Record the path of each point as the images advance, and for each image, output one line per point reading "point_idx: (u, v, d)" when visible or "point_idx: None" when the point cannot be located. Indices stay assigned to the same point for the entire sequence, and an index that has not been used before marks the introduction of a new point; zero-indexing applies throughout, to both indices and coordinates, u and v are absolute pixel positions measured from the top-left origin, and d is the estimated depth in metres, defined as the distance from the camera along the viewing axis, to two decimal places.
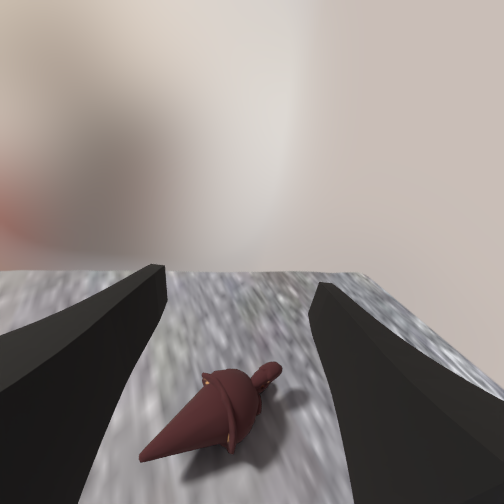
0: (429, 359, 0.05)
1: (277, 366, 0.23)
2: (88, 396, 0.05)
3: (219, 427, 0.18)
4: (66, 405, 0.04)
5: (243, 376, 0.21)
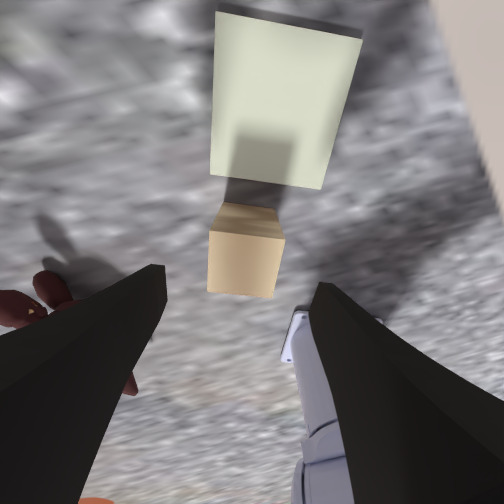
0: (429, 359, 0.05)
1: None
2: (88, 396, 0.05)
3: None
4: (66, 405, 0.04)
5: None
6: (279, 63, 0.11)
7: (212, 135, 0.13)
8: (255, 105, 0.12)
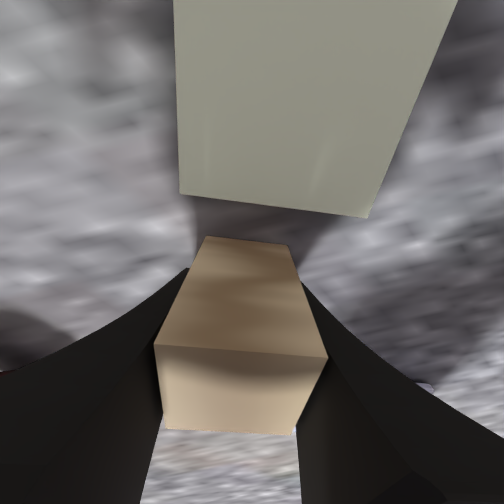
0: (374, 354, 0.05)
1: None
2: (150, 400, 0.05)
3: None
4: (138, 409, 0.04)
5: None
6: None
7: (179, 125, 0.07)
8: (258, 66, 0.06)
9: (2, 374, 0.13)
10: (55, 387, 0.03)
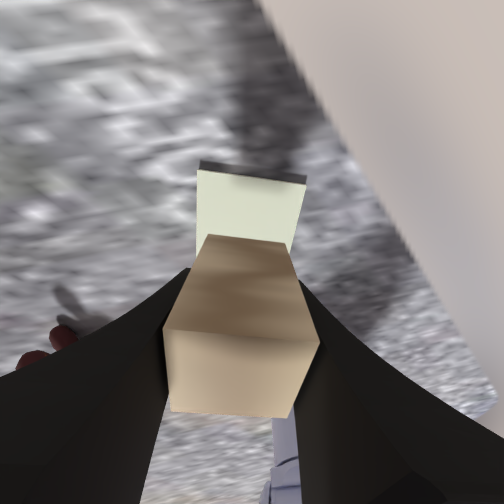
0: (374, 354, 0.05)
1: None
2: (150, 400, 0.05)
3: None
4: (138, 409, 0.04)
5: None
6: (245, 198, 0.15)
7: (197, 241, 0.17)
8: (229, 223, 0.16)
9: None
10: (53, 387, 0.03)
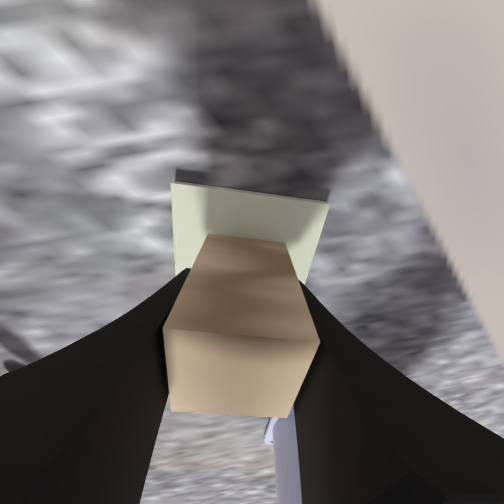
0: (373, 354, 0.05)
1: None
2: (150, 400, 0.05)
3: None
4: (138, 409, 0.04)
5: None
6: (242, 223, 0.11)
7: None
8: None
9: None
10: (53, 387, 0.03)
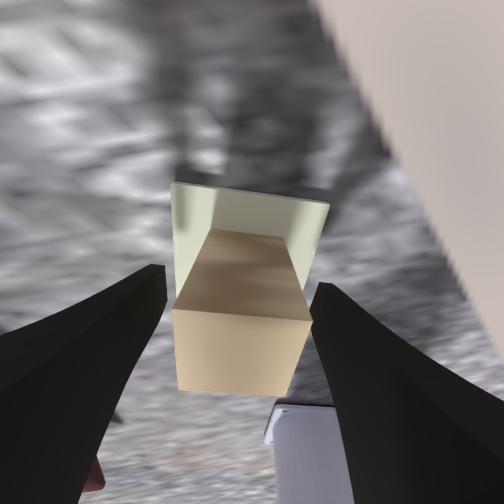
0: (429, 359, 0.05)
1: None
2: (88, 396, 0.05)
3: None
4: (66, 405, 0.04)
5: None
6: (242, 223, 0.11)
7: (176, 278, 0.12)
8: None
9: None
10: None
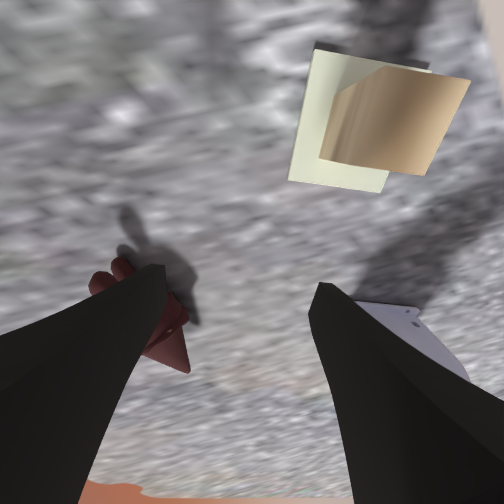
0: (429, 359, 0.05)
1: (96, 287, 0.16)
2: (88, 396, 0.05)
3: (170, 339, 0.20)
4: (66, 405, 0.04)
5: None
6: None
7: (295, 147, 0.15)
8: None
9: None
10: None
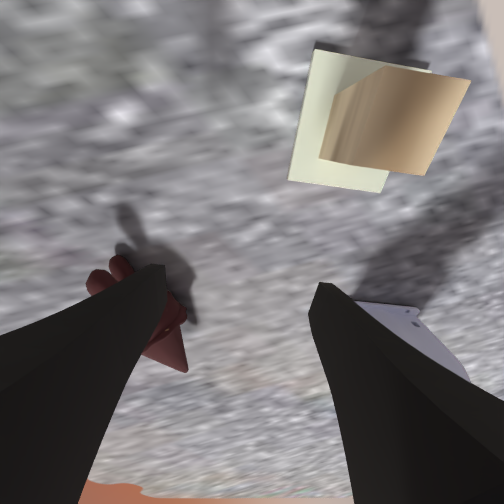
0: (429, 359, 0.05)
1: (93, 285, 0.16)
2: (88, 396, 0.05)
3: (168, 338, 0.20)
4: (66, 405, 0.04)
5: None
6: None
7: (295, 147, 0.15)
8: None
9: None
10: None
